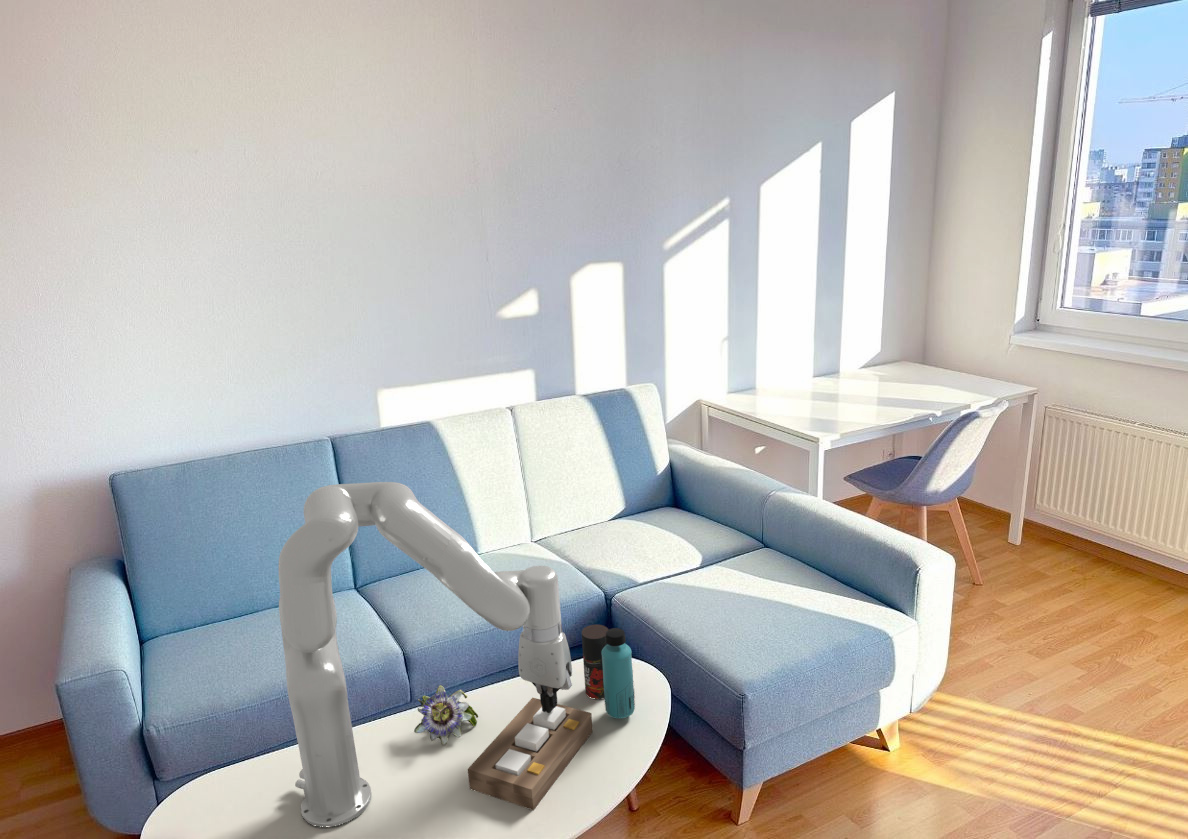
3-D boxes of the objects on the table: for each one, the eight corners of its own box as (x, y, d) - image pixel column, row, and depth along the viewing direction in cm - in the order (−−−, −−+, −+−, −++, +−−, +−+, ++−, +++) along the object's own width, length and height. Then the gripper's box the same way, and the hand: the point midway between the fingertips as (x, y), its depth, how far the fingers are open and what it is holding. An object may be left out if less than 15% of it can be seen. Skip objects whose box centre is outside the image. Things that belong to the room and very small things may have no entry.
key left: (496, 772, 157) (495, 764, 156) (509, 756, 161) (509, 748, 160) (518, 779, 155) (517, 771, 154) (531, 763, 159) (530, 755, 158)
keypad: (469, 789, 158) (467, 767, 156) (534, 715, 178) (532, 696, 177) (533, 810, 151) (531, 788, 150) (592, 731, 172) (591, 711, 170)
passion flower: (447, 764, 173) (409, 738, 166) (440, 725, 182) (403, 699, 176) (490, 731, 172) (453, 703, 166) (480, 694, 182) (445, 666, 175)
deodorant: (617, 688, 186) (613, 628, 182) (603, 702, 181) (599, 641, 177) (594, 680, 189) (590, 622, 185) (580, 694, 184) (576, 634, 180)
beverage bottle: (633, 726, 173) (629, 641, 167) (601, 724, 174) (596, 639, 168) (637, 707, 179) (634, 624, 173) (607, 705, 180) (602, 622, 175)
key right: (533, 724, 168) (533, 716, 168) (545, 710, 173) (544, 703, 172) (554, 730, 166) (553, 722, 166) (565, 716, 170) (565, 708, 170)
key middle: (515, 745, 163) (514, 737, 162) (528, 730, 167) (527, 723, 166) (536, 751, 160) (536, 743, 160) (548, 736, 164) (548, 728, 164)
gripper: (500, 630, 164) (508, 710, 169) (567, 645, 157) (573, 728, 162) (520, 612, 170) (527, 690, 175) (585, 625, 163) (590, 706, 169)
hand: (549, 708), depth 169 cm, fingers closed
